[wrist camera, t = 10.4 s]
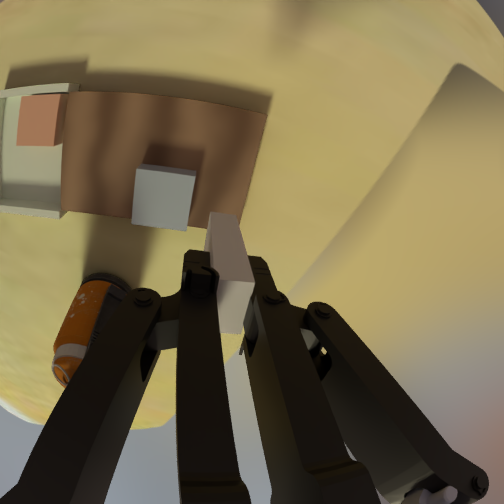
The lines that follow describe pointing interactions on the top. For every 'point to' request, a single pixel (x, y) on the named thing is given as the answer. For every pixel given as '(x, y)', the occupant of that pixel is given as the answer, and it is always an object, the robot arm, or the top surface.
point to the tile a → (42, 120)
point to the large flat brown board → (156, 151)
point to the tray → (29, 160)
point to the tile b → (162, 196)
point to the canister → (85, 322)
